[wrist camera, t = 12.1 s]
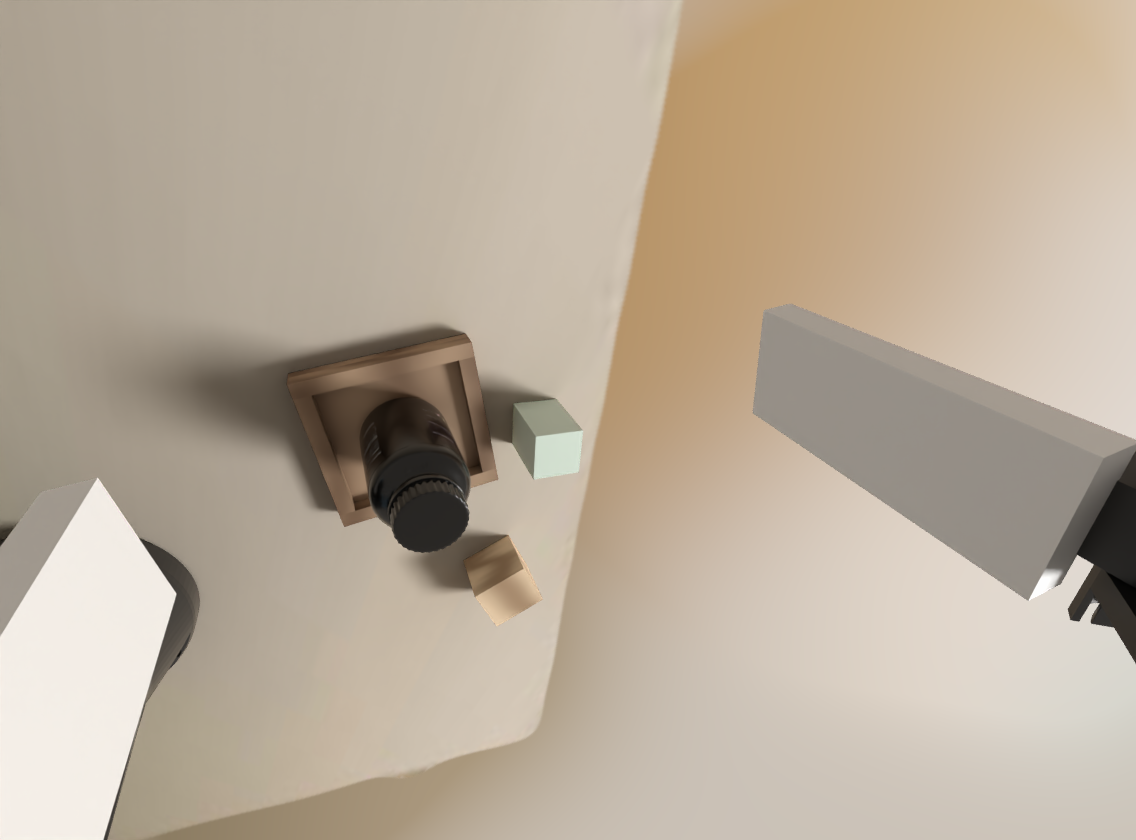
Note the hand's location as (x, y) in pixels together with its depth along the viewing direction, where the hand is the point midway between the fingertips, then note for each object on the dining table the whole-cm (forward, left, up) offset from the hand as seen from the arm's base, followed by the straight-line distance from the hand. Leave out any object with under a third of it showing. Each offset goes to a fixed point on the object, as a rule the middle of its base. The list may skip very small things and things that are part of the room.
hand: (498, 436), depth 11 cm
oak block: (+3, -34, -31) cm, 46 cm away
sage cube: (+9, -19, -31) cm, 37 cm away
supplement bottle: (-2, -16, -30) cm, 34 cm away
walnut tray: (-2, -16, -31) cm, 35 cm away
